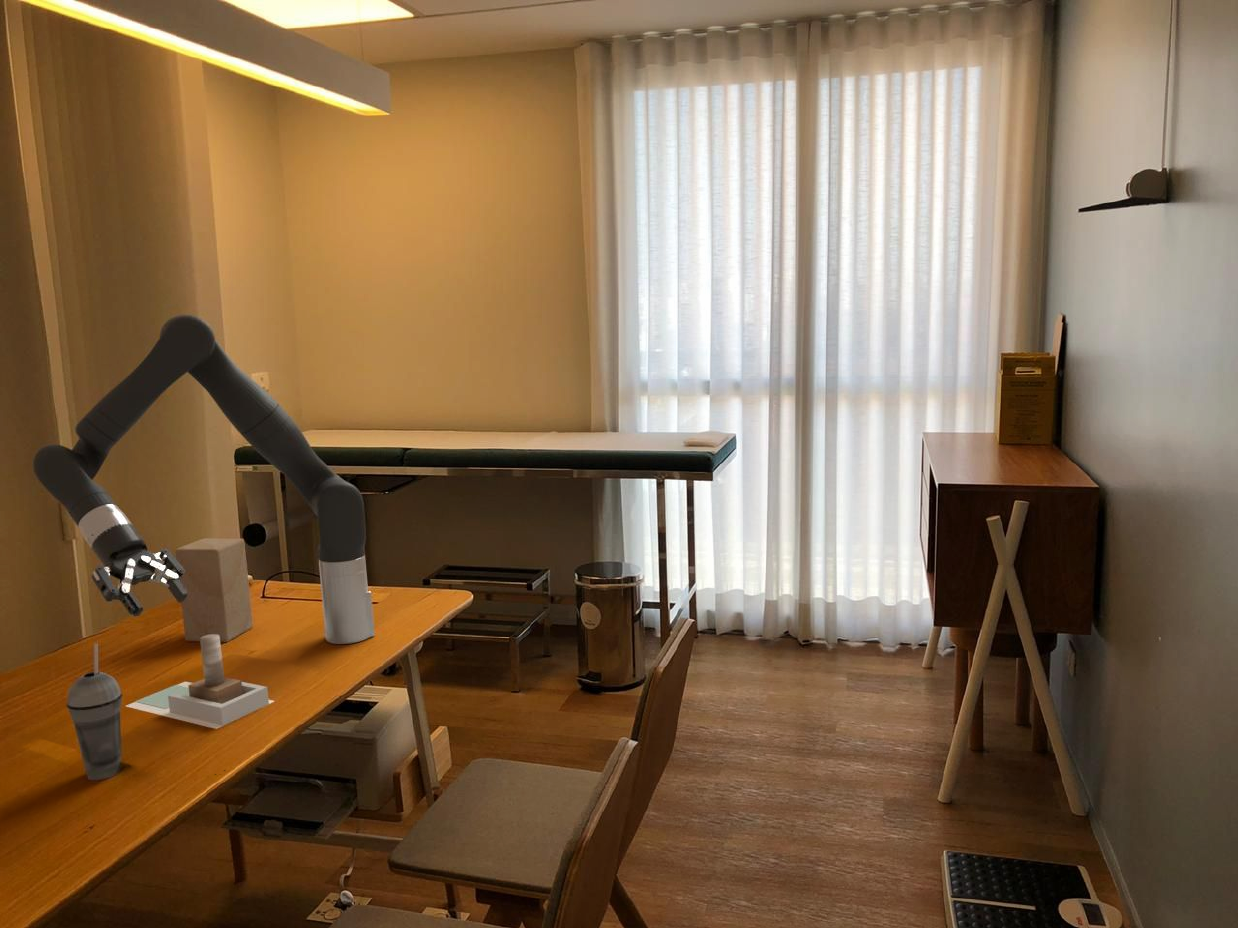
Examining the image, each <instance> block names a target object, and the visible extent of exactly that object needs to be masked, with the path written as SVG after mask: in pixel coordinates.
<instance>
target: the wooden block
mask: <svg viewBox="0 0 1238 928" xmlns="http://www.w3.org/2000/svg"><path fill="white" fill-rule="evenodd" d="M245 546H246V545H245V540H244V538H223V537H222V538H221V537H220V538H219V537H218V538H217V537H216V538H215V537H213V538H210V537H209V538H208V537H207V538H206V537H205V538H201V539H199V540H196V541H194V542H190V543H188V544H185V545H183V546H181V547H178V548H175V550H174V552H175V553H174V554H175V558H176V560H177V561H178V562H179V563H180V565H181V566H182V567H183V568H184V569H185V573H184V574H183V575H182V577H181V579H180V580H179V581H180V582H181V583H182V585H183V586H184V588H185V589H186V590H187V597H186V599H185V600H184V601H183V602H180V606H181V614H182V622H183V631H184V639H185V641H187V642H200V638H201V637H203V636H206V635H212V634H217V635H219V636H220V643H228V642H230V641H231V640H233V639H234V638H236V637H238V636H240V635H241V634H244V633H245V632H248V631H249V630H251V629H252V628H253V627H254V620H253V613H252V612H253V611H252V601H251V595H250V585H249V584H250V583H249V574H248V573H249V572H248V565H247V556H246V555H247V554H246V547H245Z"/></svg>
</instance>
